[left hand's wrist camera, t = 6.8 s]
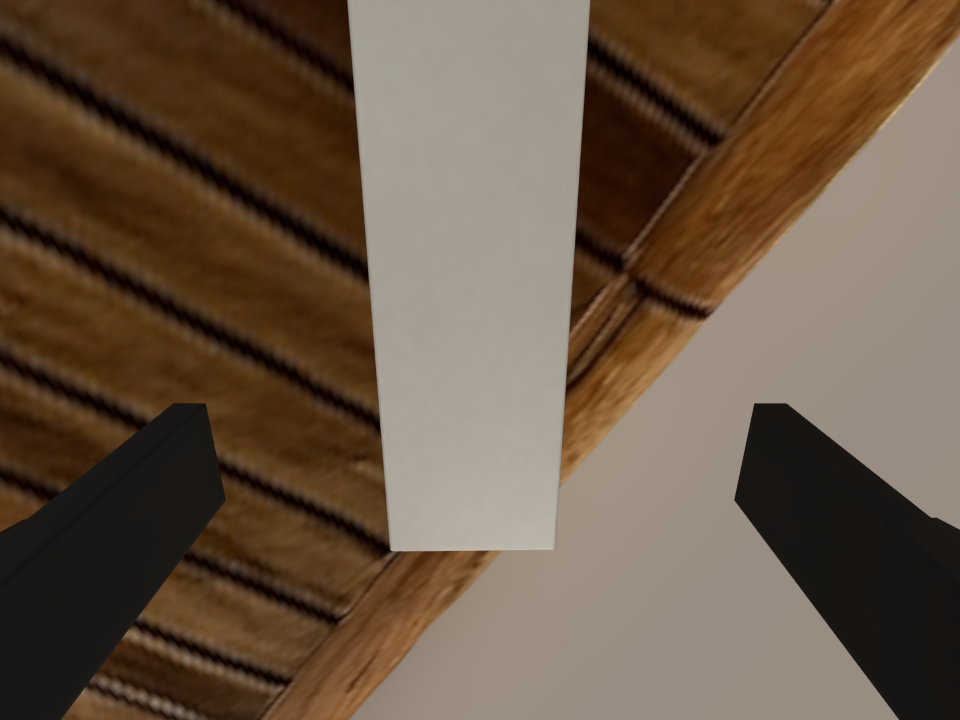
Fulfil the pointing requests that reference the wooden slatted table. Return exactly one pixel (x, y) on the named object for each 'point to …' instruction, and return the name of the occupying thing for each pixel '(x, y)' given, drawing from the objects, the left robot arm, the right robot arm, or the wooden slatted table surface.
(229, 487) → the wooden slatted table surface
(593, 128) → the wooden slatted table surface
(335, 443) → the wooden slatted table surface
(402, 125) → the bar
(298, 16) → the wooden slatted table surface
